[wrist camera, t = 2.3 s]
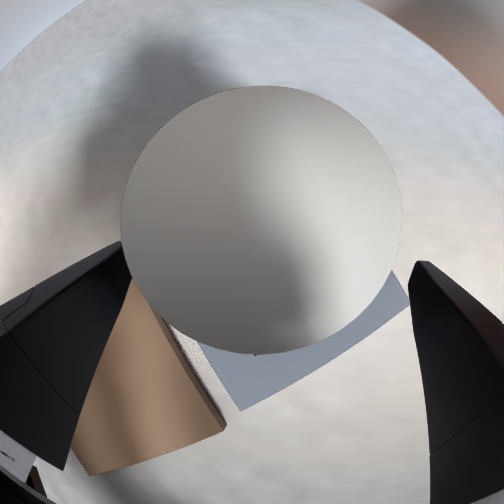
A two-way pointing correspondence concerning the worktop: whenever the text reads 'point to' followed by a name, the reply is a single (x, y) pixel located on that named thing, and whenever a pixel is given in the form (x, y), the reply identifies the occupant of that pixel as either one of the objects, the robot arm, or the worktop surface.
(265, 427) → the worktop surface
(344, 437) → the worktop surface
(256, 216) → the plug
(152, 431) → the pad
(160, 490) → the worktop surface
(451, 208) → the worktop surface
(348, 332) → the blue-grey square ring
